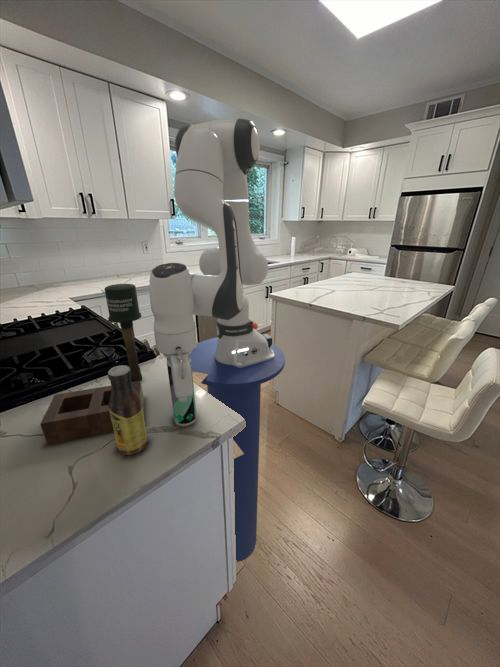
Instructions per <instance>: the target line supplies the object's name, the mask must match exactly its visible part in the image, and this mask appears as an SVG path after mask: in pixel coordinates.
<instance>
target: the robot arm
mask: <svg viewBox="0 0 500 667" xmlns="http://www.w3.org/2000/svg"><path fill="white" fill-rule="evenodd" d="M260 141H261V140H260V136H259V131H258V128H257V126H256V125H255V124H254V122H253V121H252V120H249V119H246V118H237V119H225V118H224V119H213V120H211V121H206V122H201V123H196V124H187V125H185V126H183V127H181V128H180V129H179V130H178V132H177V133H176V135H175V140H174V150H175V155H176V164H175V171H174V172H175V173H174V186H173V193H174V201H175V204H176V206H177V207H178V209H179V211H180V212H181V214H183V215H184V216H185V217H186V218H187V219H189V220H190V221H192V222H194V223H195V224H198V225H200V226H202V227H204V228H207V229H209V230H211V231H212V232H214V234H215V235H216V237H217V242H218V246H217V247H212V248H207V249H205V250H203V251H202V253H201V254H200V257H199V260H198V265H199V270H200V272H201V273H202V274H198V273H192V272H190V269H189V267H188V266H187V265H186V264H184V263H180V262H167V263H162V264H159V265H156V266H155V267H153V268H152V269H151V271H150V273H149V274H150V275H149V302H150V303H149V304H150V310H151V312H152V315H153V318H154V323H153V334H154V341H155V349H156V351H157V352H159V353H161V354H162V355H163V357H165V358H166V359H167V358H170V360H171V373H172V380H173V386H174V392H175V396H176V398H179V401H180V402H184V401H187V397H188V396H192V394H193V386H194V383H193V384H192V375H193V373H192V374H191V366H190V362H189V359H188V355H190V354H191V352H192V351H191V350H193V349H194V348H195V347H196V345H197V343H198V342H197V329H196V327H197V326H196V322H195V319H194V316H200V317H209V318H210V317H211V318H215V319H217V320H216V325H215V326H216V328H215V329H216V337H218V341H217V349H216V353H215V359H216V360H217V361H218V362H220V363H223V364H227V365H233V366H235V367H238V368H242V367H246V366H249V365H253V364H256V363H260V362H264V361H267V360H271V359H274V357H275V355H274V351H273V350H272V349H271V348H270V347H271V345H272V344H273V337H272V336H271V335H270V334H268V333H265V334H264V333H263V334H262V333H260V332H258V331H257V329H258V328H259V325H258V324H257V323H256V322H254V321H253V320H251V319H250V318H249V317H250V309H249V308H250V301H249V299H248V297H247V296H246V295H245V292H244V287H243V286H254V285H260V284H262V283H263V282H264V281H265V280H266V278H267V275H268V272H269V263H268V260H267V257H266V256H265V255H264V254H263V253H262V252H261V251H260V249H259V248H258V246H257V245H256V243H255V241H254V239H253V236H252V231H251V225H250V212H249V211H250V210H249V206H250V205H249V187H248V186H249V185H248V178H247V175H248V174H249V172H250V170H251V169H253V168H254V167H255V165H256V164H257V162H258V160H259V155H260V149H261V148H260V147H261V142H260Z"/></svg>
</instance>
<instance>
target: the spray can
mask: <svg viewBox="0 0 500 667" xmlns="http://www.w3.org/2000/svg"><path fill="white" fill-rule="evenodd" d="M188 359H189V362H190V366H191V374H192V384H193V394H192V396H188V397H187V401H184V402H180V401H179V398H176V396H175V392H174V386H173V380H172V373H171V360H170V358H166V367H167V368H166V369H167V376H168V384H169V390H170V398H171V404H172V411H173V420H174V423H175V425H177V426H179V427H188V426H191V425H193V424H194V423H195V422H196V421H197V408H196V398H195V397H196V396H195V387H194V376H193V371H192V365H191V358H190V355H188Z"/></svg>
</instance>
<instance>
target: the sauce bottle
mask: <svg viewBox="0 0 500 667" xmlns="http://www.w3.org/2000/svg"><path fill="white" fill-rule="evenodd" d="M107 377H108V380H109V382H110V386H111V387H112V391H111V396H110V401H109V406H108V408H109V412H110V417H111V421H112V426H113V430H114V431H113V435H114V439H115V443H116V447H117V449H118V451H119V452H120V453H121V454H122V455H125V456H130V455H131V456H132V455H135V454H138V453H140V452H141V451H142V450H144V449H145V448H146V445H147V442H148V441H147V437H148V435H147V428H146V424H145V423H146V422H145V414H144V415H143V408H142V405H141V399H140V395H139V392H138V391H137V390H135V389H134V388H133V385H132V382H131V370H130V368H129V365H123V364H122V365H117V366H113V367H111V368H110V369H109V370H108V371H107Z"/></svg>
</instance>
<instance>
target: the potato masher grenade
mask: <svg viewBox="0 0 500 667" xmlns="http://www.w3.org/2000/svg"><path fill="white" fill-rule="evenodd" d="M103 289H104V295H105V299H106V305H107V310H108V315H109V316H108V321H109V322H111V323H115V324H116V323H117V324H119V326H120V328H121V329H120V330H121V334H122V338H123V339H122V340H123V341H124V347H125V352H126V357H127V362H128V363H127V364H128V367H129V368H130V370H131V382H136V381H141V382H142V381H143V375H142V370H141V367H140V364H139V359H138V353H137V347H136V342H135V329H134V321H137V320H139V319H141V318H142V312H140V305H139V300H138V292H137V287H136V285H135V284H132V283H116V284H109V285H107V286H105V287H104V288H103Z"/></svg>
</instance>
